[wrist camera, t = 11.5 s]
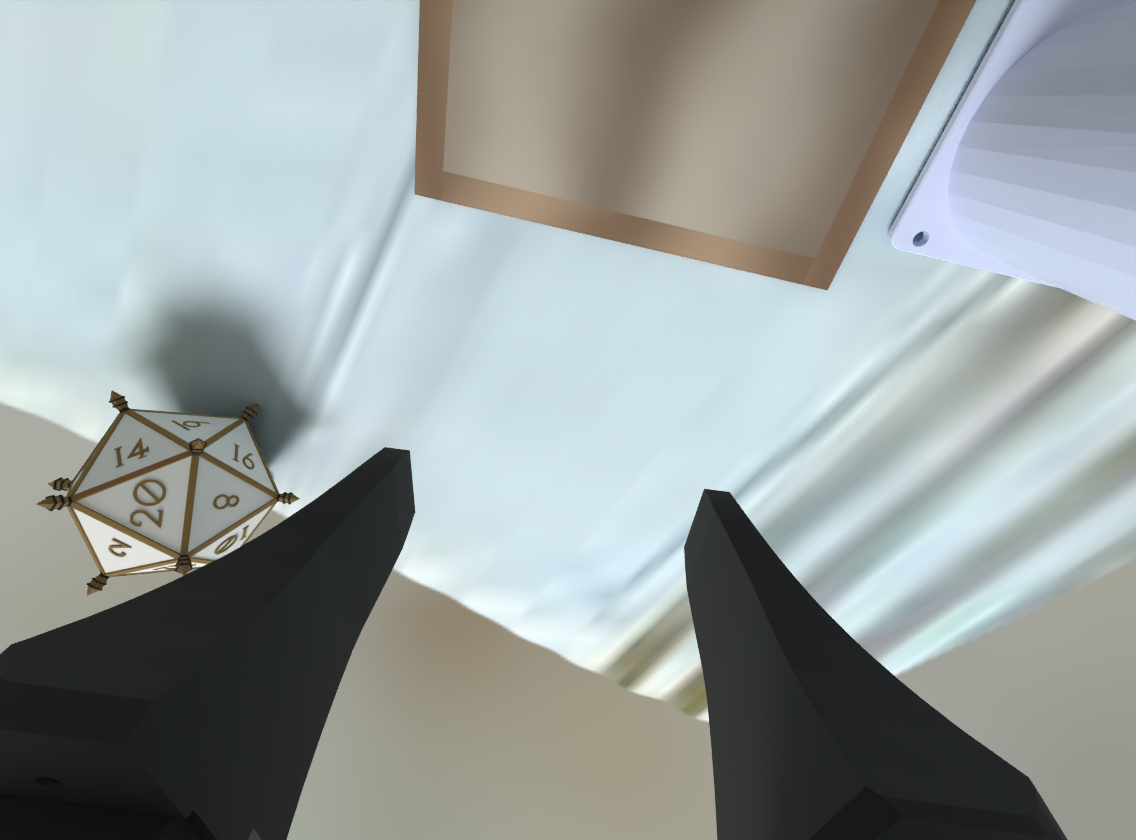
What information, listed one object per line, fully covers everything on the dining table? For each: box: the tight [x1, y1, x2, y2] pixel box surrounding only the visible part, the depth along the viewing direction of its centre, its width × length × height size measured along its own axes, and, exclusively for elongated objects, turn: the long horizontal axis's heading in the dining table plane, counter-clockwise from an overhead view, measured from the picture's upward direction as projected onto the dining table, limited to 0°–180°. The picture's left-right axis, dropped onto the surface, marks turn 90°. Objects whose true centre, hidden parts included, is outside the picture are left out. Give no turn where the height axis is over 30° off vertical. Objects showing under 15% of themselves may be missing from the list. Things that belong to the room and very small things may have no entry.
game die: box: [37, 391, 300, 595], centre depth 22 cm, size 9×8×10 cm
